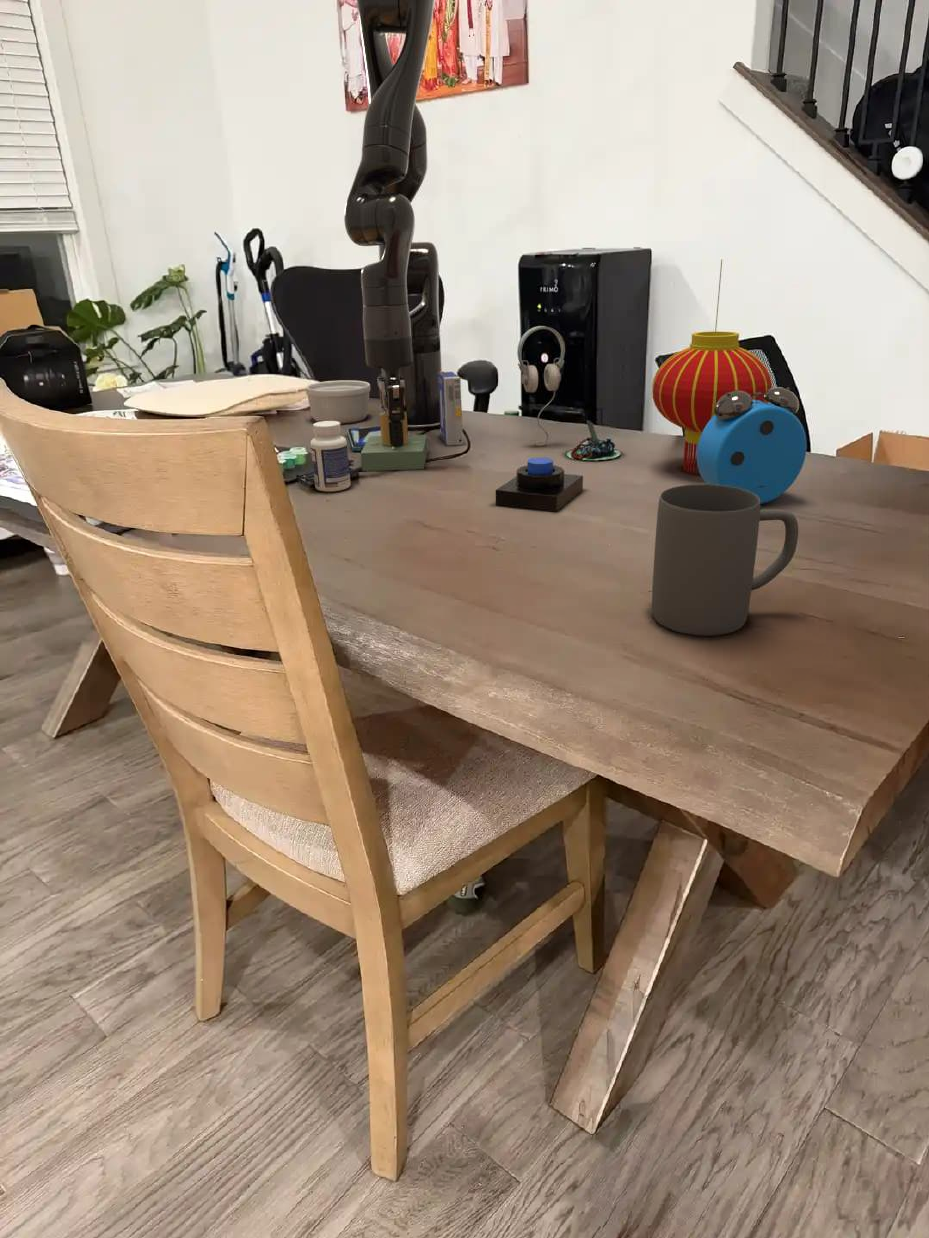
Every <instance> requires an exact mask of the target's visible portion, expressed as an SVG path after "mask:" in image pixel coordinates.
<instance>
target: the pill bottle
mask: <svg viewBox="0 0 929 1238" xmlns="http://www.w3.org/2000/svg"><path fill="white" fill-rule="evenodd" d="M312 429H313V430H312V432H313V434H314V435H315V437H313V438H312V439H311V441H310V454H311V462H312V463H311V464H312V469H313V470H312V471H313V479H314V481H313V482H314V487H315V489H316V490H317V491H321V492H326V493H327V492H328V493H331V492H333V493H334V492H339V491H344V490H346V489H349V488H350V487H351V473H350V472H351V471H350V462H349V452H348V451H349V450H348V441H347V439H346V437H344V436H343V435H341V433H342V427H341V424H340V422H337V421H322V422H317V421H316V422H314V423H313V425H312Z"/></svg>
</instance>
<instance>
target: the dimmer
mask: <svg viewBox="0 0 929 1238" xmlns="http://www.w3.org/2000/svg"><path fill="white" fill-rule="evenodd" d="M428 448H429V447H428V434H408V443H407V444H405V445H401V446H386V445H383V444H382V439H381V436H370V437H369V439H368V440H367V442H366V444H365V446H364V448H363V450H362V451H360V460H361V471H362V472H376V471H377V472H379V471H382V472H383V471H411V470H412V471H413V470H424V469H425V465H426V461H427V456H428V451H429V449H428Z"/></svg>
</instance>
